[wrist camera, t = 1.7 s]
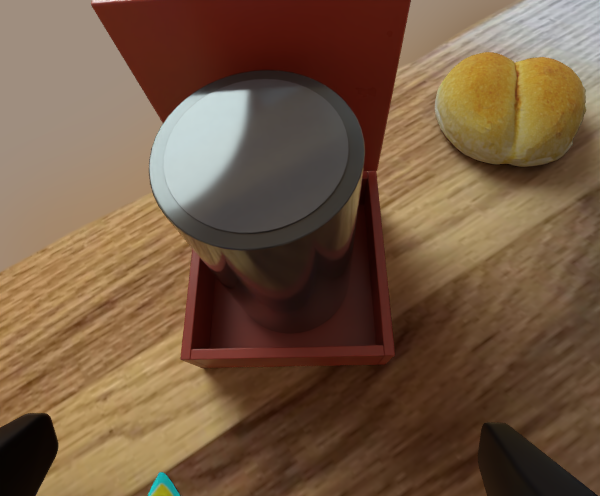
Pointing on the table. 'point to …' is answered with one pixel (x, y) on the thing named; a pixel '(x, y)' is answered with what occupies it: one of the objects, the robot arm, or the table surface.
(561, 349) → the table surface
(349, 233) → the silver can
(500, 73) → the bread roll
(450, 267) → the table surface
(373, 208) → the open red box
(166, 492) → the decorative fish
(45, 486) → the table surface
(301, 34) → the red box lid
